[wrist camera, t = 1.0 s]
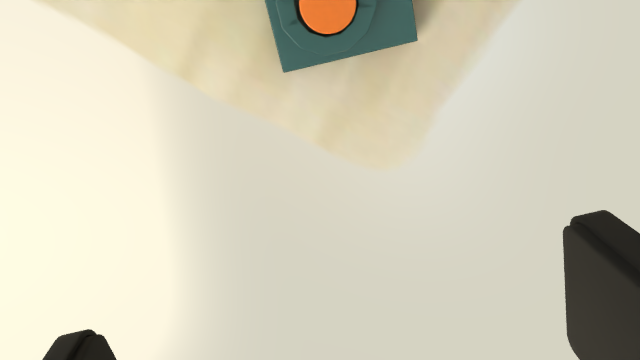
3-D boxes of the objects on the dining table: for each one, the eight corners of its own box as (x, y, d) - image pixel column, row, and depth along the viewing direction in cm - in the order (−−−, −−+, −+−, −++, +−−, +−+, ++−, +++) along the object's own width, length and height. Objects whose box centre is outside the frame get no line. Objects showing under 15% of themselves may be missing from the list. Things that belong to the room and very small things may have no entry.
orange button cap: (293, -19, 31) (293, -19, 29) (347, -32, 31) (350, -33, 29) (306, 37, 32) (306, 39, 30) (357, 24, 32) (361, 26, 30)
